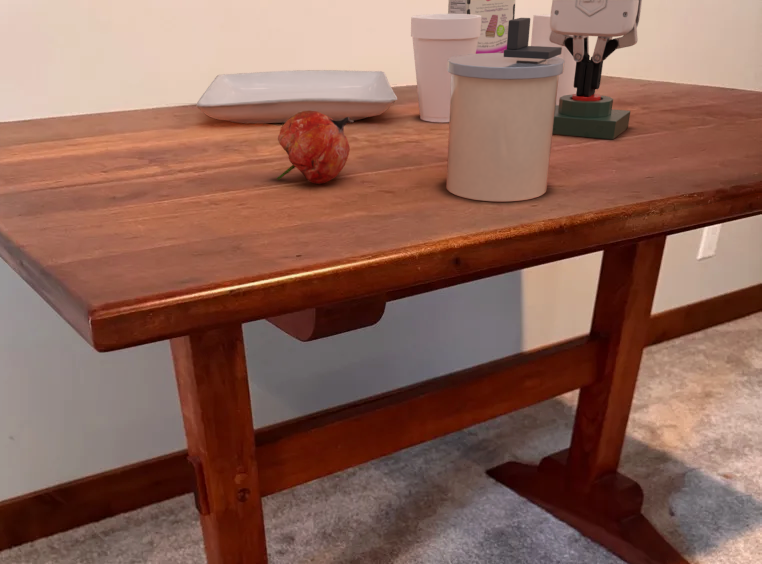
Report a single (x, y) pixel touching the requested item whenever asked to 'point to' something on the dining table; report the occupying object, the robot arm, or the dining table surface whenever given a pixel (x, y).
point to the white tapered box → (541, 38)
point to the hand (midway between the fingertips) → (585, 94)
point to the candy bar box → (488, 21)
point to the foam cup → (440, 57)
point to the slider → (525, 42)
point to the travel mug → (501, 125)
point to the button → (582, 98)
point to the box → (589, 118)
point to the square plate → (296, 95)
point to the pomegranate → (315, 145)
